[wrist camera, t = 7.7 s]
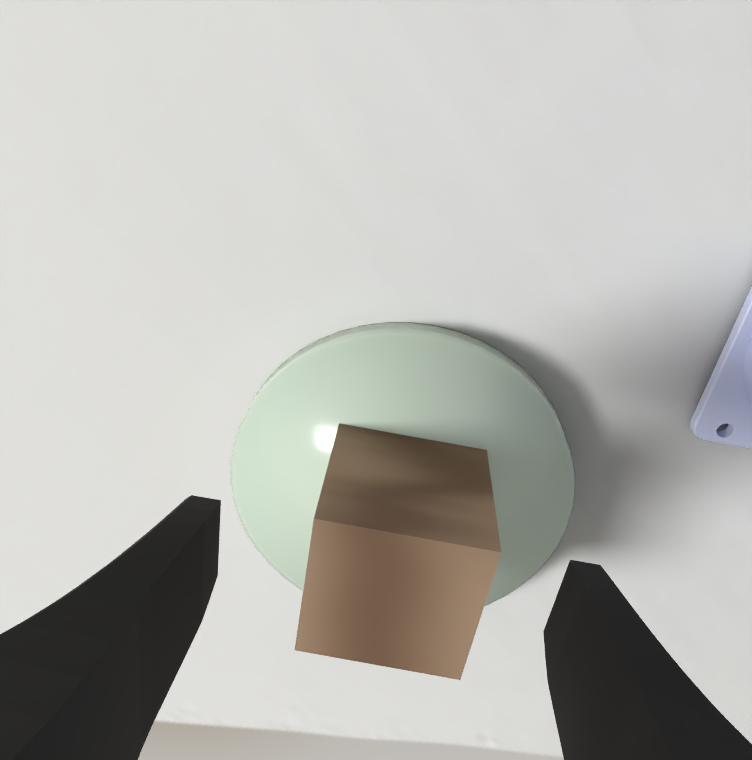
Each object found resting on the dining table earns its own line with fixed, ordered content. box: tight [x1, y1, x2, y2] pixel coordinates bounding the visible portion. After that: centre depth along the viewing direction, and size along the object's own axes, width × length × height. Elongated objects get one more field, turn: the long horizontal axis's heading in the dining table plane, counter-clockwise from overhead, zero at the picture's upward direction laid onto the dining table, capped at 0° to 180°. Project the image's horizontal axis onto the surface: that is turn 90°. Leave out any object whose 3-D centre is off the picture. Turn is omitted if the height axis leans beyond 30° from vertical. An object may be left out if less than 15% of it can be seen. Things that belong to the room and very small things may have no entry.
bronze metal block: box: [295, 423, 501, 680], centre depth 20 cm, size 5×5×5 cm
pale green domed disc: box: [230, 323, 575, 606], centre depth 23 cm, size 12×12×1 cm
